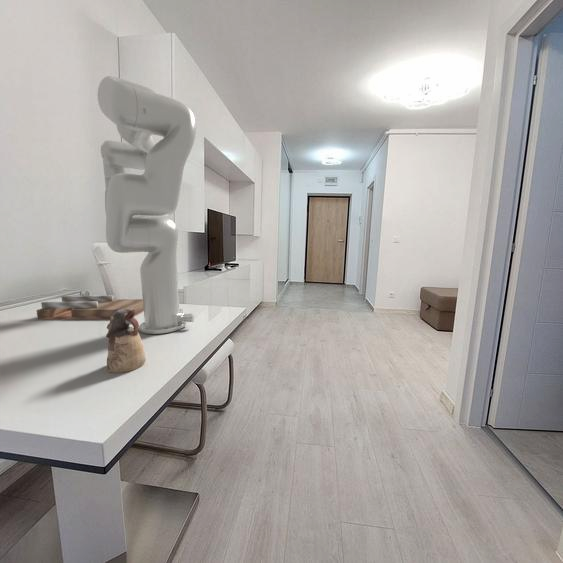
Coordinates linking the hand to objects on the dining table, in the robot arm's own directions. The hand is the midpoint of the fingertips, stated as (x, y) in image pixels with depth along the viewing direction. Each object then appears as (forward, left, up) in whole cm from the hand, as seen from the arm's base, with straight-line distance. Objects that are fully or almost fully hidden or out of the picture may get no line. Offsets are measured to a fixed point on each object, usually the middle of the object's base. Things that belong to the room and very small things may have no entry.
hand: (123, 238), depth 102 cm
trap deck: (+7, +8, -25) cm, 28 cm away
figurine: (-24, +48, -26) cm, 59 cm away
